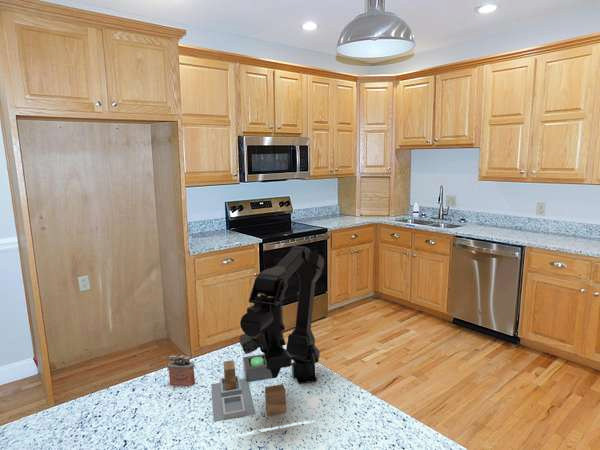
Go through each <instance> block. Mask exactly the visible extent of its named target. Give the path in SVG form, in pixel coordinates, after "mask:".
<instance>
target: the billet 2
mask: <svg viewBox="0 0 600 450" xmlns="http://www.w3.org/2000/svg"><path fill="white" fill-rule="evenodd" d="M264 397H265V401H264V402H265V411H266V414H267V417H269V416H272V415H273V416H274V415H279V414H285V413H287V402H286V401H287V399H286V398H287V397H286V388H285V386H284V384H283V383H281V384H274V385H269V386H265V387H264Z"/></svg>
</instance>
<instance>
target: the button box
mask: <svg viewBox="0 0 600 450" xmlns="http://www.w3.org/2000/svg"><path fill="white" fill-rule="evenodd" d="M264 355H265V354H264V353H261V354H256V355H248V356H243V357H242V360H243V362H242V363H243V364H242V365H243V372H244V376H245V379H246V381H247V382H248V383H249V382H255V381H262V380H267V379H273V378H272V374H271V371H270V370H269V369H267V368H266V365H265V361H264V365H258V366H251V359H252V358H254V357H262V358H263V356H264ZM263 360H264V359H263Z"/></svg>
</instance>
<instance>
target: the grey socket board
mask: <svg viewBox="0 0 600 450" xmlns="http://www.w3.org/2000/svg"><path fill="white" fill-rule="evenodd" d="M235 376H236V389H234V390H228V391H226V389H225V378H224V377H219V382H215V383H211V385H210V386H211V387H210V388H211V403H212V418H213V420H212V421H213V423H217V422H221V421H222V422H223V421H227V420H232V419H233V420H234V419H238V418H245V417H250V416H254V415H256V409H255V405H254V401H253V396H252V391H251V388H250V384H249V382H247V381H246V378H242V379H240V375H235Z"/></svg>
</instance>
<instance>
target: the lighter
mask: <svg viewBox="0 0 600 450" xmlns="http://www.w3.org/2000/svg"><path fill="white" fill-rule="evenodd" d="M168 359H169V362H168V363H167V368H168V377H169V385H170V386H173V387H189V386H190V387H192V386H194V385H195V384H196V383H195V382H196V380H195V379H196V378H195V369H194V367H195V363H194V361H190V359H191V358H190V356H185V355H184V354H180V356H179V355H170V356H169V358H168Z"/></svg>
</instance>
